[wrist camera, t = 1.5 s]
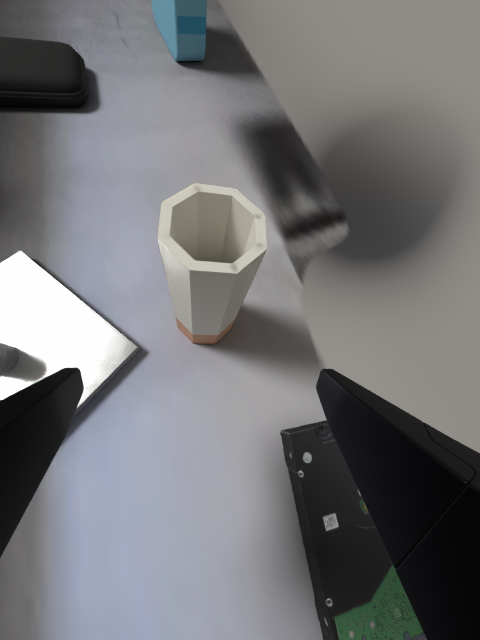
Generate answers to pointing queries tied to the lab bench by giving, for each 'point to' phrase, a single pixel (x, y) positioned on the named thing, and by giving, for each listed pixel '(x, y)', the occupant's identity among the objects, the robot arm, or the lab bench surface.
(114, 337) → the pin plate
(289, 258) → the lab bench surface
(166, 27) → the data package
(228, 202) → the sleeve
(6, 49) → the carrying case or bag
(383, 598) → the disk drive
